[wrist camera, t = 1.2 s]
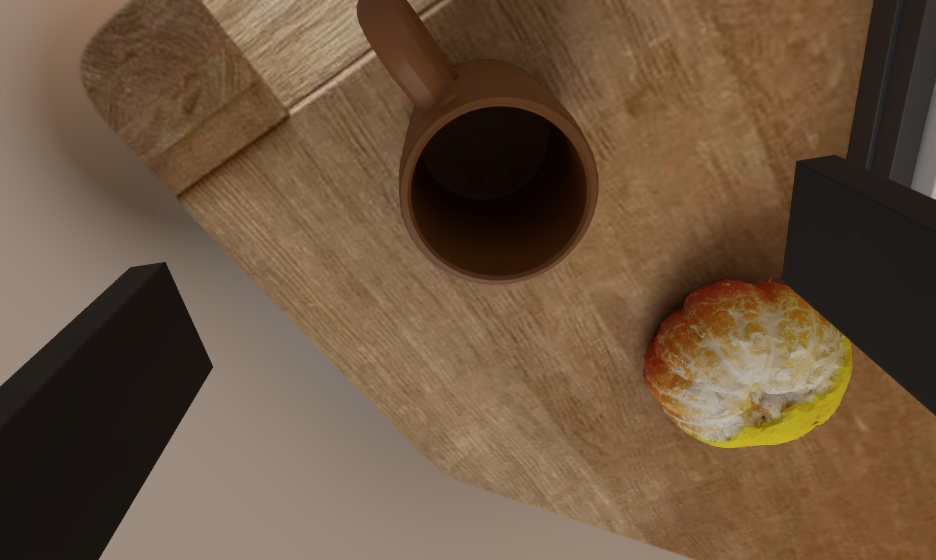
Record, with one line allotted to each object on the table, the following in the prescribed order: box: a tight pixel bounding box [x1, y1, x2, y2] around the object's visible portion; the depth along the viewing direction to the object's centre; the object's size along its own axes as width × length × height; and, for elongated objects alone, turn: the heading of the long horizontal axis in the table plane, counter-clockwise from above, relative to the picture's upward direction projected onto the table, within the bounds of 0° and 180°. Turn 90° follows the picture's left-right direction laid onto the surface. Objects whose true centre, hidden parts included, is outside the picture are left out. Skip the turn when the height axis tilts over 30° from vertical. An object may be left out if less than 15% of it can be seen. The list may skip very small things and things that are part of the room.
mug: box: [357, 0, 598, 285], centre depth 24 cm, size 12×8×9 cm, turn 34°
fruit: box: [643, 278, 852, 448], centre depth 33 cm, size 11×10×8 cm
